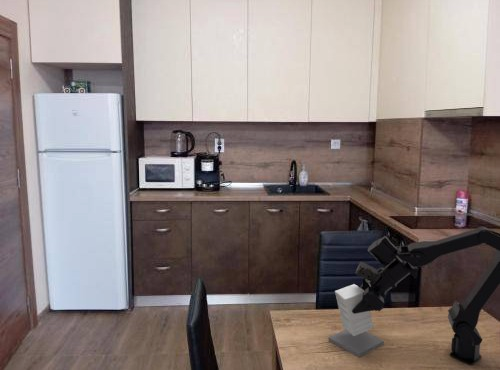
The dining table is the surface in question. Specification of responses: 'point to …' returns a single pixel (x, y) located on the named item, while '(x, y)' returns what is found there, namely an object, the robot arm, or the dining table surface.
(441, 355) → the dining table surface
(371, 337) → the tile
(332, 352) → the dining table surface
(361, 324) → the supplement box
